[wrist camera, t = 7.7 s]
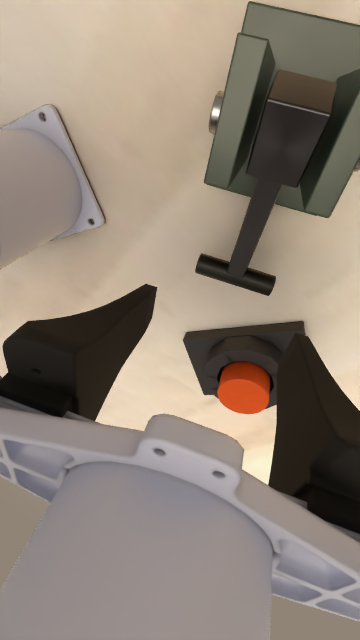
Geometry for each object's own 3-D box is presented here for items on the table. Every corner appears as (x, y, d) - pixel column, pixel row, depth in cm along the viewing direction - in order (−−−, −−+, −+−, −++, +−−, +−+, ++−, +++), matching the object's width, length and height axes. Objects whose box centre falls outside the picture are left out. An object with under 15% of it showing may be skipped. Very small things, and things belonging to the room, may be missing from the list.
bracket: (315, 210, 19) (331, 268, 12) (209, 180, 19) (171, 220, 13) (398, 38, 14) (496, -15, 7) (250, 6, 14) (222, -69, 8)
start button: (227, 395, 27) (223, 413, 25) (216, 362, 25) (211, 379, 23) (273, 395, 25) (272, 414, 24) (265, 359, 23) (264, 378, 22)
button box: (206, 386, 31) (199, 409, 29) (186, 332, 27) (176, 353, 25) (311, 384, 27) (314, 411, 25) (303, 321, 23) (305, 345, 21)
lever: (272, 278, 20) (265, 306, 19) (202, 256, 21) (191, 282, 20) (377, 91, 11) (376, 125, 10) (241, 59, 11) (225, 88, 10)
